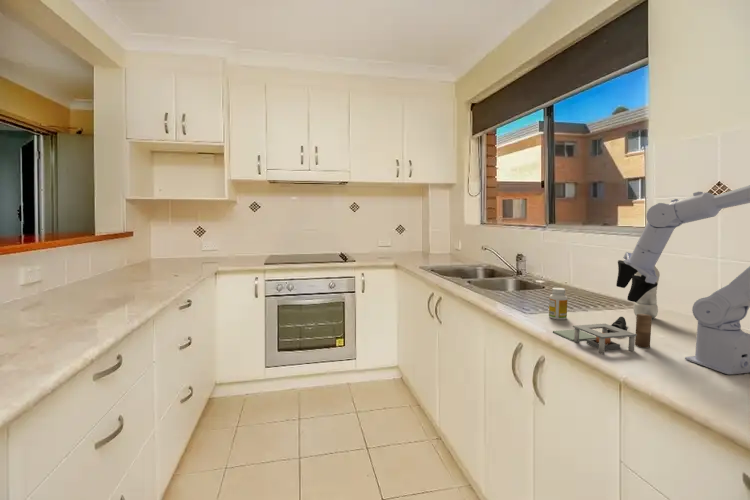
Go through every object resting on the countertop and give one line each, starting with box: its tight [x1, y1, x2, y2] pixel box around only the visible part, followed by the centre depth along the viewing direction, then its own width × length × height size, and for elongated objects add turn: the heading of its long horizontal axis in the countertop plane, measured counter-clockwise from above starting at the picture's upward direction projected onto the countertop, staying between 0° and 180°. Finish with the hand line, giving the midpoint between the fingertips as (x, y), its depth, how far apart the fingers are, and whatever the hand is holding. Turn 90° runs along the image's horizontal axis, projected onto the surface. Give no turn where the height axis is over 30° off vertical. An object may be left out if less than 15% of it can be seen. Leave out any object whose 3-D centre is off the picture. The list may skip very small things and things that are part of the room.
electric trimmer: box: [607, 316, 627, 333], centre depth 114 cm, size 4×16×3 cm, turn 140°
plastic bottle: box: [632, 265, 660, 319], centre depth 126 cm, size 6×7×20 cm
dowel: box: [634, 314, 653, 349], centre depth 99 cm, size 3×3×8 cm
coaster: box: [552, 328, 596, 342], centre depth 108 cm, size 8×8×1 cm
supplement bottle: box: [548, 287, 568, 321], centre depth 127 cm, size 5×5×10 cm
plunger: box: [595, 336, 612, 345], centre depth 100 cm, size 3×3×2 cm
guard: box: [572, 323, 637, 355], centre depth 100 cm, size 10×10×4 cm
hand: (625, 293), depth 105 cm, fingers open, 7 cm apart
